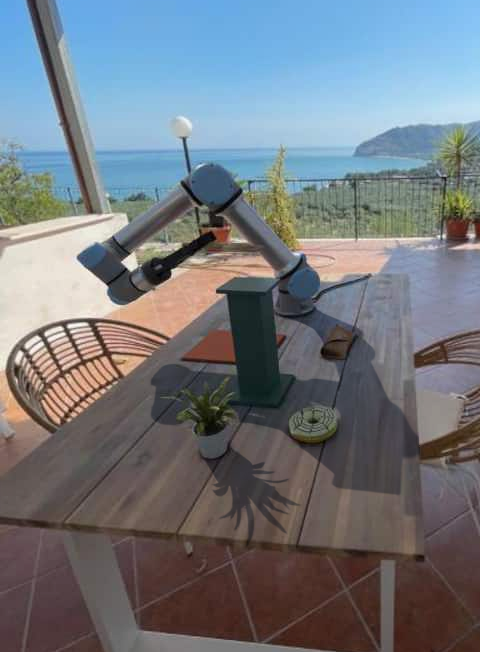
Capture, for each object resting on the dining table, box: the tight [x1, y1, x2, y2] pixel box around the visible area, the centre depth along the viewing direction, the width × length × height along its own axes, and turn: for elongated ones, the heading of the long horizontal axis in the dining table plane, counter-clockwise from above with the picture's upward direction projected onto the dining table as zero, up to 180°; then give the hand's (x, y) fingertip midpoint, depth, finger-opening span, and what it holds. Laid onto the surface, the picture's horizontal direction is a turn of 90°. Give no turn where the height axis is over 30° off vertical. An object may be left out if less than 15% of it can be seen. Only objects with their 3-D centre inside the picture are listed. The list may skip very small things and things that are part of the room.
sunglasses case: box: [319, 323, 359, 360], centre depth 126 cm, size 18×7×7 cm, turn 169°
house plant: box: [161, 375, 238, 459], centre depth 78 cm, size 14×14×16 cm
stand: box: [215, 276, 295, 408], centre depth 98 cm, size 14×14×30 cm
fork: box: [181, 241, 263, 253], centre depth 109 cm, size 6×23×2 cm, turn 82°
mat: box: [181, 329, 286, 365], centre depth 125 cm, size 20×26×1 cm
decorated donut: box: [288, 405, 338, 444], centre depth 87 cm, size 10×11×4 cm
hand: (211, 235), depth 108 cm, fingers closed on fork, 2 cm apart
